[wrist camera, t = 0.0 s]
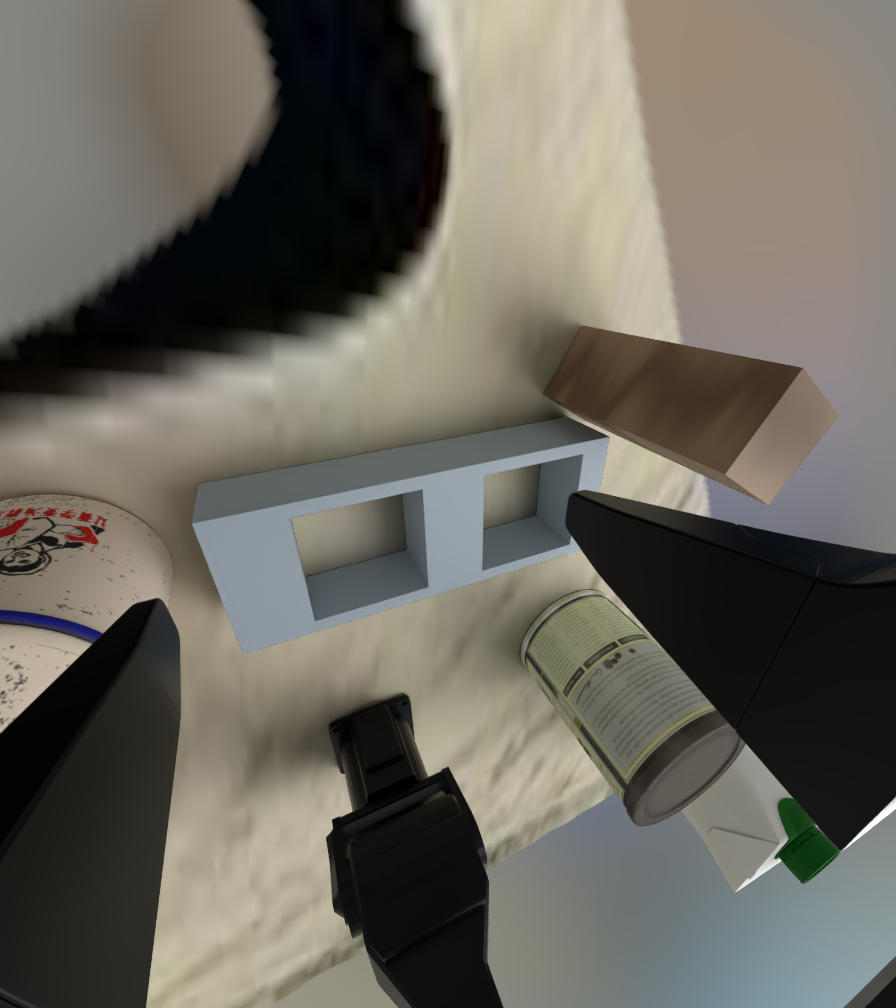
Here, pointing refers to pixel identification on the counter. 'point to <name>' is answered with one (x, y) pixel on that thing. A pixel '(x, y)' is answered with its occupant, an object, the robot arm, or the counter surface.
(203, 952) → the counter surface
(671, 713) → the coffee can
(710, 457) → the peg
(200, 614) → the counter surface
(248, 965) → the counter surface
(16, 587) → the teacup with lid
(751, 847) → the milk carton
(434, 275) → the counter surface
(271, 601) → the blue peg holder
